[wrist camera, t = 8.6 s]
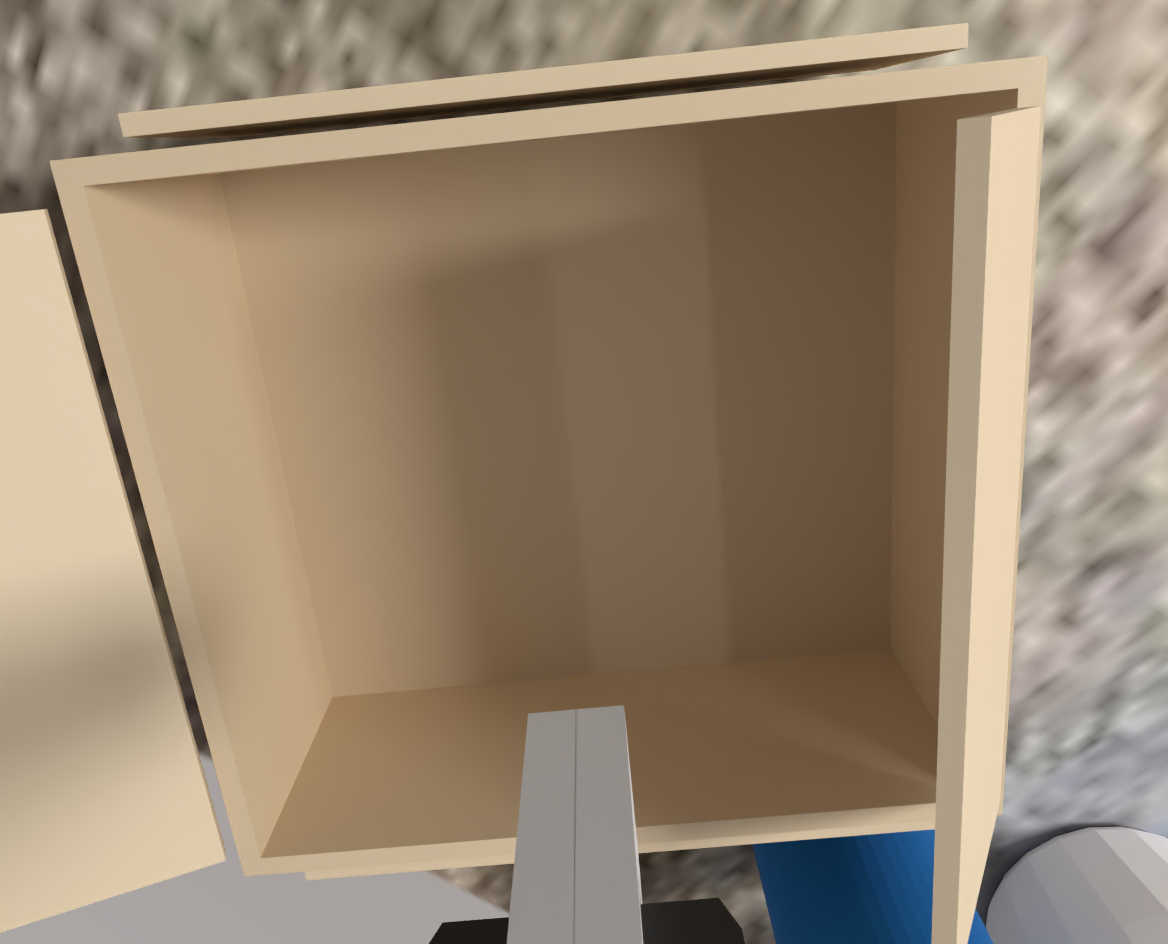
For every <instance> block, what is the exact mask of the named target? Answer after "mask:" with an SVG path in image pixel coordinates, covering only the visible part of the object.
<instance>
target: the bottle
mask: <svg viewBox="0 0 1168 944" xmlns="http://www.w3.org/2000/svg"><path fill="white" fill-rule="evenodd" d="M986 930H987V932H988V934H989V936H990V938H991V940H992V942H993V943H994V944H1168V839H1167V838H1165V837H1163V836H1159V835H1155V834H1151V833H1147V832H1143V831H1139V830H1135V829H1131V828H1125V827H1088V828H1084V829H1080V830H1077V831H1073V832H1070V833H1066V834H1063V835H1059V836H1055V837H1054V838H1052V839H1050V840H1048V841H1047V842H1045V843H1043V844H1041V845H1039V846H1038V847H1036V848H1034V849H1032V850H1031V851H1029V852H1027V853H1026V854H1025V855H1024V856H1023V857H1022V858H1021V859H1020V860H1019V861H1018V862H1017V863H1016V864H1015V865H1014V866H1013V867H1012V868H1011V869H1010V870H1009V871H1008V872H1007V873H1006V874H1005V875H1004V877H1003V879H1002V881H1001V883H1000V884H999V886H998V888H997V890H996V892H995V894H994V895H993V897H992V900H991V902H990V905H989V908H988V915H987V922H986Z"/></svg>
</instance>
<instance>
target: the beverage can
mask: <svg viewBox="0 0 1168 944" xmlns="http://www.w3.org/2000/svg"><path fill="white" fill-rule="evenodd" d="M752 845H753V849H754V853H755V857H756V861H757V865H758V870H759V874H760V878H761V882H762V886H763V890H764V895H765V899H766V903H767V907H768V911H769V915H770V920H771V924H772V928H773V932H774V936H775V940H776V944H931V942H932V910H933V878H934V846H935V829H932V830H919V831H907V832H895V833H882V834H870V835H858V836H845V837H833V838H821V839H808V840H796V841H784V842H771V843H759V844H752ZM967 944H994V943H993V942H992V940H991V938H990V936H989V934H988V932H987V930H986V928H985V926H984V924H983V922H982V920H981V918H980V916H979V914H978V912H977V910H976V908H975V912H974V917H973V921H972V925H971V930H970V934H969V939H968V943H967Z"/></svg>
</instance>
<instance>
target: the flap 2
mask: <svg viewBox="0 0 1168 944" xmlns="http://www.w3.org/2000/svg"><path fill="white" fill-rule="evenodd" d="M1040 110H1041V106H1033V107H1023V108H1014V109H1009V110H1004V111H999V112H994V113H989V114H983V115H978V116H973V117H968V118H963V119H958V120H957V142H956V174H955V206H954V238H953V270H952V302H951V334H950V366H949V398H948V430H947V462H946V494H945V526H944V558H943V590H942V622H941V654H940V686H939V718H938V750H937V782H936V814H935V846H934V878H933V910H932V942H931V944H967V943H968V939H969V934H970V930H971V925H972V921H973V917H974V912H975V908H976V904H977V899H978V895H979V891H980V886H981V882H982V878H983V873H984V869H985V865H986V860H987V856H988V852H989V847H990V843H991V839H992V834H993V830H994V826H995V821H996V817H997V813H998V808H999V804H1000V792H1001V775H1002V758H1003V741H1004V724H1005V707H1006V690H1007V673H1008V656H1009V639H1010V622H1011V605H1012V588H1013V571H1014V554H1015V537H1016V520H1017V503H1018V486H1019V468H1020V451H1021V434H1022V417H1023V400H1024V383H1025V366H1026V349H1027V332H1028V315H1029V298H1030V281H1031V264H1032V247H1033V230H1034V213H1035V196H1036V179H1037V162H1038V144H1039V127H1040Z"/></svg>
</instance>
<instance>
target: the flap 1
mask: <svg viewBox="0 0 1168 944" xmlns="http://www.w3.org/2000/svg"><path fill="white" fill-rule="evenodd" d="M225 860H226V854H225V847H224V843H223V839H222V836H221V832H220V829H219V825H218V821H217V818H216V814H215V810H214V807H213V803H212V800H211V796H210V792H209V789H208V785H207V782H206V778H205V774H204V771H203V767H202V764H201V760H200V757H199V753H198V749H197V746H196V742H195V739H194V735H193V731H192V728H191V724H190V721H189V717H188V713H187V710H186V706H185V703H184V699H183V695H182V692H181V688H180V685H179V681H178V677H177V674H176V670H175V667H174V663H173V659H172V656H171V652H170V649H169V645H168V641H167V638H166V634H165V631H164V627H163V623H162V620H161V616H160V613H159V609H158V605H157V602H156V598H155V595H154V591H153V588H152V584H151V580H150V577H149V573H148V570H147V566H146V562H145V559H144V555H143V552H142V548H141V544H140V541H139V537H138V534H137V530H136V526H135V523H134V519H133V516H132V512H131V508H130V505H129V501H128V498H127V494H126V490H125V487H124V483H123V480H122V476H121V472H120V469H119V465H118V462H117V458H116V454H115V451H114V447H113V444H112V440H111V436H110V433H109V429H108V426H107V422H106V419H105V415H104V411H103V408H102V404H101V401H100V397H99V393H98V390H97V386H96V383H95V379H94V375H93V372H92V368H91V365H90V361H89V357H88V354H87V350H86V347H85V343H84V339H83V336H82V332H81V329H80V325H79V321H78V318H77V314H76V311H75V307H74V303H73V300H72V296H71V293H70V289H69V285H68V282H67V278H66V275H65V271H64V267H63V264H62V260H61V257H60V253H59V250H58V246H57V242H56V239H55V235H54V232H53V228H52V224H51V221H50V217H49V214H48V210H47V209H40V210H30V211H21V212H12V213H3V214H0V933H1V932H5V931H8V930H11V929H14V928H17V927H20V926H23V925H26V924H29V923H33V922H36V921H39V920H42V919H45V918H48V917H51V916H54V915H57V914H61V913H64V912H67V911H70V910H73V909H76V908H79V907H82V906H86V905H89V904H92V903H95V902H98V901H101V900H104V899H108V898H111V897H114V896H117V895H120V894H123V893H126V892H129V891H132V890H136V889H138V888H142V887H145V886H148V885H151V884H154V883H157V882H160V881H164V880H167V879H170V878H173V877H176V876H179V875H182V874H185V873H189V872H192V871H195V870H198V869H201V868H204V867H207V866H210V865H214V864H217V863H220V862H223V861H225Z"/></svg>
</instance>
